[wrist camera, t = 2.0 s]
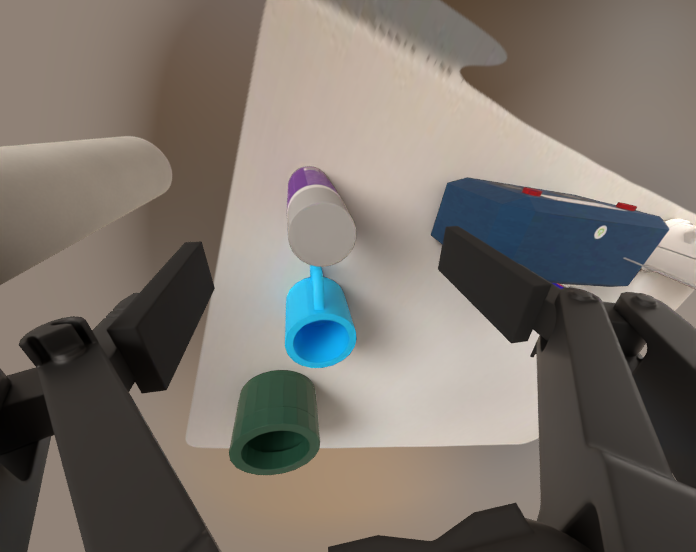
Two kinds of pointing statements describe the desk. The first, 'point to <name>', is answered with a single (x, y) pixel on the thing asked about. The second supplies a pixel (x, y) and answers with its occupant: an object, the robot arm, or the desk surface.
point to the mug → (318, 322)
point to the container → (318, 219)
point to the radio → (554, 231)
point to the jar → (275, 424)
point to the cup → (676, 252)
